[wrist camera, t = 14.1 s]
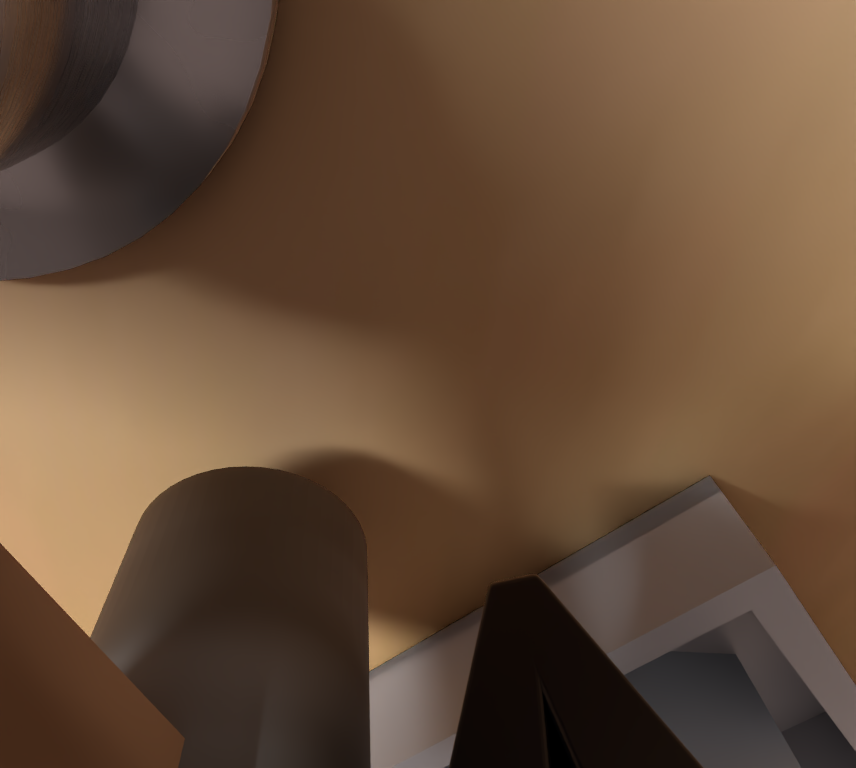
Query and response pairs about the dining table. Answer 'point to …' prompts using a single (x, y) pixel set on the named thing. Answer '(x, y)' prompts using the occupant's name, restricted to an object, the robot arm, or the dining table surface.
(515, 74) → the dining table surface
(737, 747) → the block
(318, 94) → the dining table surface
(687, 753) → the robot arm
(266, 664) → the crank arm
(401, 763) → the tray
